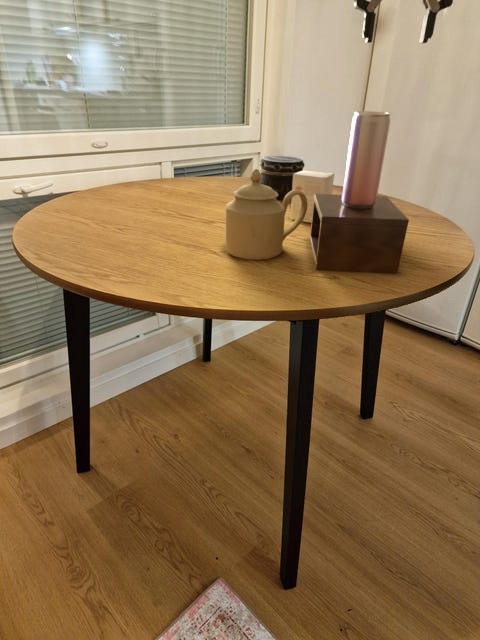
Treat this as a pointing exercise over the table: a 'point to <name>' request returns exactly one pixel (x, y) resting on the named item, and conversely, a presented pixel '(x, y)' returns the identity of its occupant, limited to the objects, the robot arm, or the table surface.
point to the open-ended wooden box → (357, 235)
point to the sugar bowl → (258, 220)
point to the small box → (309, 190)
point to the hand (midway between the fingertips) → (395, 42)
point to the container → (280, 173)
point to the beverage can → (365, 158)
